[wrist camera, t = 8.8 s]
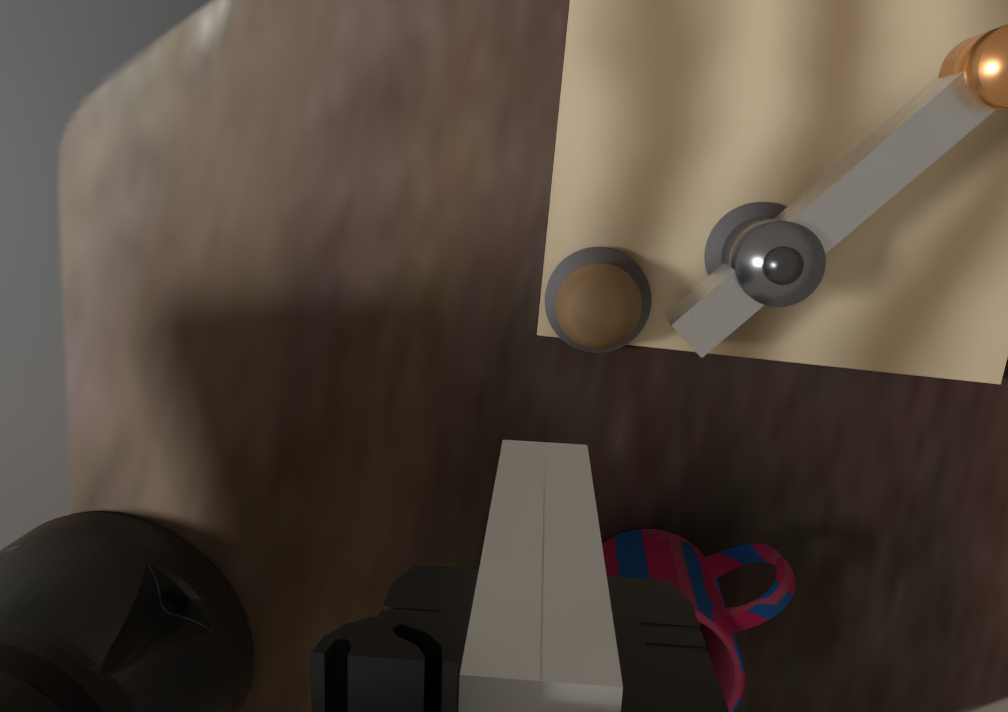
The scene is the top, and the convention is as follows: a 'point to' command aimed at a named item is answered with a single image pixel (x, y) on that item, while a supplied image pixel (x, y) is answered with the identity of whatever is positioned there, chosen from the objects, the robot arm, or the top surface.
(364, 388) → the top surface
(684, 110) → the press base
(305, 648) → the top surface
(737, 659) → the mug
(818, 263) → the lever
